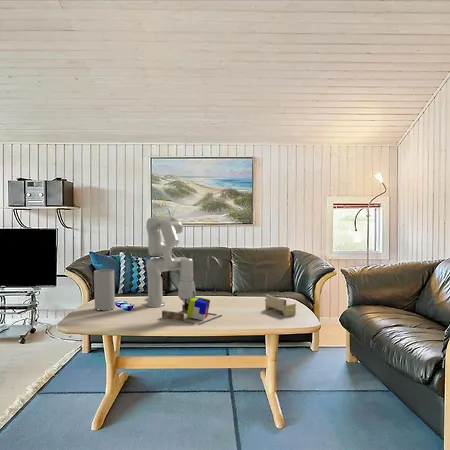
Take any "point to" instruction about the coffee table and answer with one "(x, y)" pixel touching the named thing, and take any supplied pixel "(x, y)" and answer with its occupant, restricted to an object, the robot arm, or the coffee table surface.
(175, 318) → the chute
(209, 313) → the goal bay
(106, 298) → the grey rounded tower
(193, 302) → the puzzle toy
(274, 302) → the toy sofa
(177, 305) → the coffee table surface
